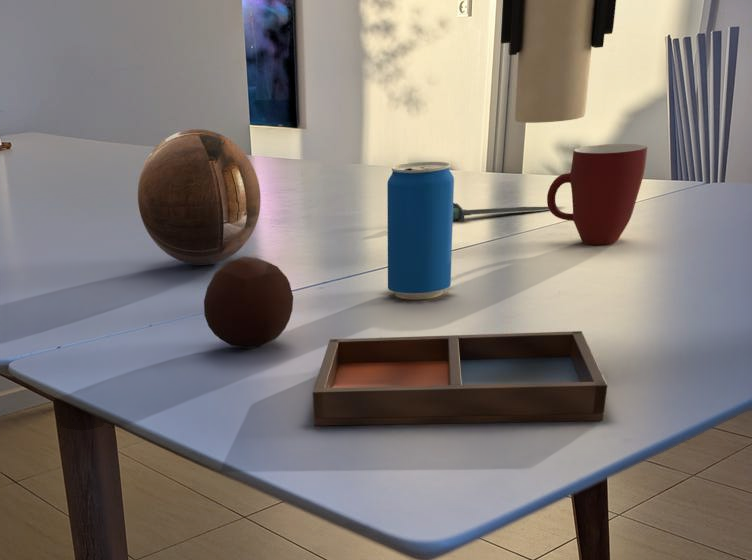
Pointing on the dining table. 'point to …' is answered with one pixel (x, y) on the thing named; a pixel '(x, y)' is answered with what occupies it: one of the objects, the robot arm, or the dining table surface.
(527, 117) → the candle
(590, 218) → the mug
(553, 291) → the dining table surface
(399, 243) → the beverage can
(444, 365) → the sorting tray
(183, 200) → the brown shiny sphere
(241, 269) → the dark brown ball
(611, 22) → the robot arm
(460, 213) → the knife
